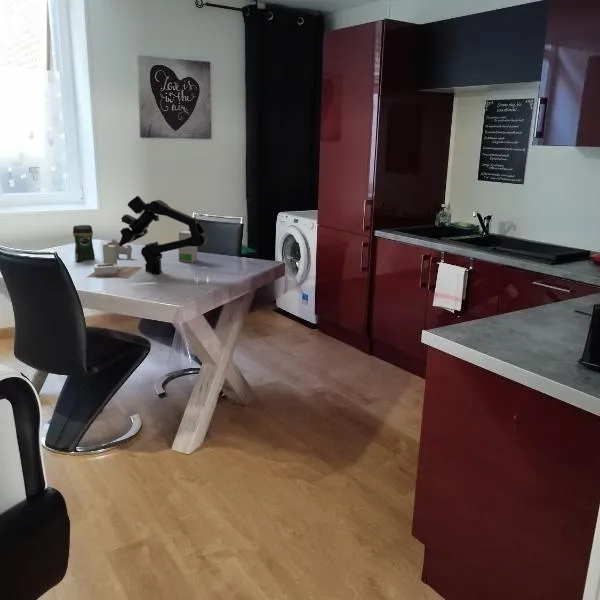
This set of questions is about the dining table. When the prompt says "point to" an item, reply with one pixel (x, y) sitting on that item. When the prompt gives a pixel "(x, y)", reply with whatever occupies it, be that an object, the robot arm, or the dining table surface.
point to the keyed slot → (105, 269)
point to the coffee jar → (83, 243)
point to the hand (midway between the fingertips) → (123, 243)
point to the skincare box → (187, 249)
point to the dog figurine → (121, 248)
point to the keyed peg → (109, 254)
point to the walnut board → (120, 272)
